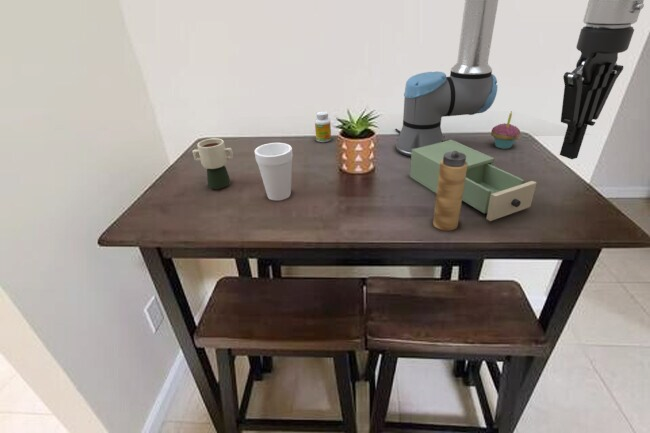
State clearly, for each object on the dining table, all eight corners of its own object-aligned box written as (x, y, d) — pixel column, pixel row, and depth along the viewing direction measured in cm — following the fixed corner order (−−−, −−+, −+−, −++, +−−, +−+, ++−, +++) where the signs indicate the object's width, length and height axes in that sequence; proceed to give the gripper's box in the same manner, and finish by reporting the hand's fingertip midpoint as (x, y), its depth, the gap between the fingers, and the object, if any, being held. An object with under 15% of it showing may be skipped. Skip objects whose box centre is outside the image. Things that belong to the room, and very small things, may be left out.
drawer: (534, 209, 89) (541, 184, 85) (494, 223, 84) (499, 198, 81) (483, 182, 101) (488, 160, 98) (446, 194, 97) (449, 171, 93)
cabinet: (488, 187, 101) (494, 158, 96) (447, 200, 96) (451, 170, 92) (448, 166, 113) (451, 139, 109) (409, 176, 108) (411, 149, 104)
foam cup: (268, 206, 98) (261, 159, 91) (256, 192, 105) (249, 147, 98) (302, 197, 101) (297, 151, 94) (288, 183, 108) (283, 140, 101)
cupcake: (519, 151, 120) (528, 113, 113) (490, 150, 121) (498, 113, 115) (513, 141, 127) (521, 105, 120) (486, 140, 128) (493, 105, 122)
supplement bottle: (316, 143, 134) (314, 115, 129) (316, 137, 139) (314, 111, 134) (331, 142, 134) (330, 115, 129) (331, 136, 139) (329, 110, 134)
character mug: (240, 179, 112) (233, 136, 106) (236, 190, 106) (228, 146, 99) (204, 181, 112) (194, 139, 106) (197, 192, 106) (186, 148, 100)
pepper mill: (428, 221, 88) (436, 149, 79) (446, 215, 90) (456, 144, 81) (443, 233, 84) (454, 158, 74) (462, 226, 86) (475, 152, 76)
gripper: (605, 30, 59) (562, 170, 71) (656, 23, 63) (608, 155, 76) (561, 27, 65) (529, 156, 77) (610, 20, 69) (572, 144, 82)
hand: (568, 156), depth 76 cm, fingers closed
